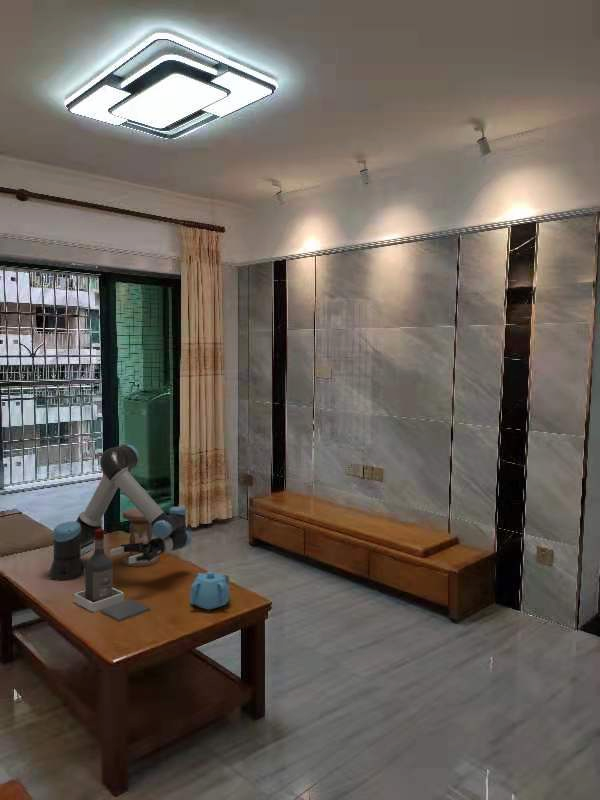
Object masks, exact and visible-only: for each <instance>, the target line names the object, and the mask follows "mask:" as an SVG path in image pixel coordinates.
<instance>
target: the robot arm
mask: <svg viewBox="0 0 600 800" xmlns="http://www.w3.org/2000/svg"><path fill="white" fill-rule="evenodd" d="M139 462H140V454H139V451H138V450H137V449H136V447H135V446H133V445H131V444H121V445H119V446H118V445H117V446H116V447H110V448H108V449H106V450H104V451H103V452H102V454H101V456H100V458H99V465H100V466H99V467H100V469H101V471H102V473H103V476H102V478H101V480H100V482H99V484H98V485H97V487H96V489H95V491H94V493H93V495H92V497H91V498H90V501H89V503H88V504H87V506H86V509H85V510H84V511H81V512H80V513H79V514H78V516H77V518H76V520H75V521H74V520H73V521H66V522H62V523H59V524H58V525H56V526H55V528H54V529H53V534H52V537H53V560H52V564H51V565H50V569H49V576H50V577H51V578H53V579H52V580H54V579H58V580H57V581H69V580H75V579H78V578H81V577H83V576H84V575H85V574H86V567H85V566H84V563H83V559H82V555H81V547H82V546H84V545H86V544H88V543H90V542H92V541H94V542H95V530H97V529H103V524H104V521H103V517H104V514H105V513H106V512H107V509H108V507H109V505H110V503H111V501H112V500H113V498H114V496H115V494H116V493H117V490H118V489H120V490H121V492H122V493H123V494H124V495H125V496H126V498H127V499H129V501H130V502H131V503H132V504H133V506H135V508H137V509H138V510H139V511H140V512H141V513H142V514H143V515H144V517H145V518H146V519H147V520H148V521H149V522H150V523H151V525H152V529H153V535H154V536H155V537H156V538H151V540H150V542H149V543H148V544H147V543H144V542H135V543H134V544H130V543H126V544H121V545H120V547H116V548H113V549H110V550H109V557H115V556H119V555H122V554H124V553H130V552H138V553H143V554H139V555H135V556H131V557H129V564H132V563H135V562H138V561H142V560H146V559H147V561H150V560H151V559H153V558H154V557H156V556H157V555H158V556H159V555H162V554H167V553H168V552H169V553H170V552H172V551H177V550H181V549H183V548H186V547H188V546H189V545H190V544H191V541H192V538H191V534H190V532H189V531H188V530H186V521H187V520H186V519H187V518H186V517H187V514H186V512H187V511H186V508H185V507H184V506H172V507H170V508H169V511H168V515H167V514H166V513H165V511H163V509H162V508H161V507H160V506H159V505H158V504H157V502H156V501H155V500H154V499H153V498H152V497H151V496H150V495H149V494H148V492H147V491H146V490H145V489H144V488H143V486H141V484H140V483H139V482H138V481H137V480H136V479H135V477H134V476H133V475H132V474H131V471H132V469H134V468H135V467H136V466H138V464H139ZM140 549H141V551H140ZM50 577H49V578H50ZM51 578H50V579H51Z"/></svg>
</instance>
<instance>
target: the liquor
mask: <svg viewBox="0 0 600 800" xmlns="http://www.w3.org/2000/svg"><path fill="white" fill-rule="evenodd" d="M104 539H105V529H103V528H102V529H97V530H95V540H94V552H93V554H92V555H91V557H89V559H88V560H86V561H87V562H86V563H85V589H84V590H85V599H87V600H89V601H91V602H93V603H94V602H97V601H100V600H103V599H106V598H109V597H112V587H113V583H114V581H113V578H114V577H113V573H114V571H113V568H114V567H113V565H114V564H113V563H114V562H113V560H112V559H111V558H110V556H108V555H107V554H106V553H105V549H104V548H105V546H104V542H105V540H104Z"/></svg>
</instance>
